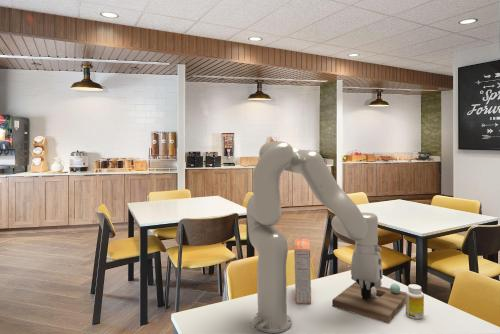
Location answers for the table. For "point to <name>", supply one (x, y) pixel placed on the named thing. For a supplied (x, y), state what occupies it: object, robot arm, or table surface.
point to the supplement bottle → (414, 302)
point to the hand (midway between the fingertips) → (366, 298)
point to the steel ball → (373, 292)
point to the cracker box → (302, 271)
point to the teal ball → (395, 288)
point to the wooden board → (371, 302)
